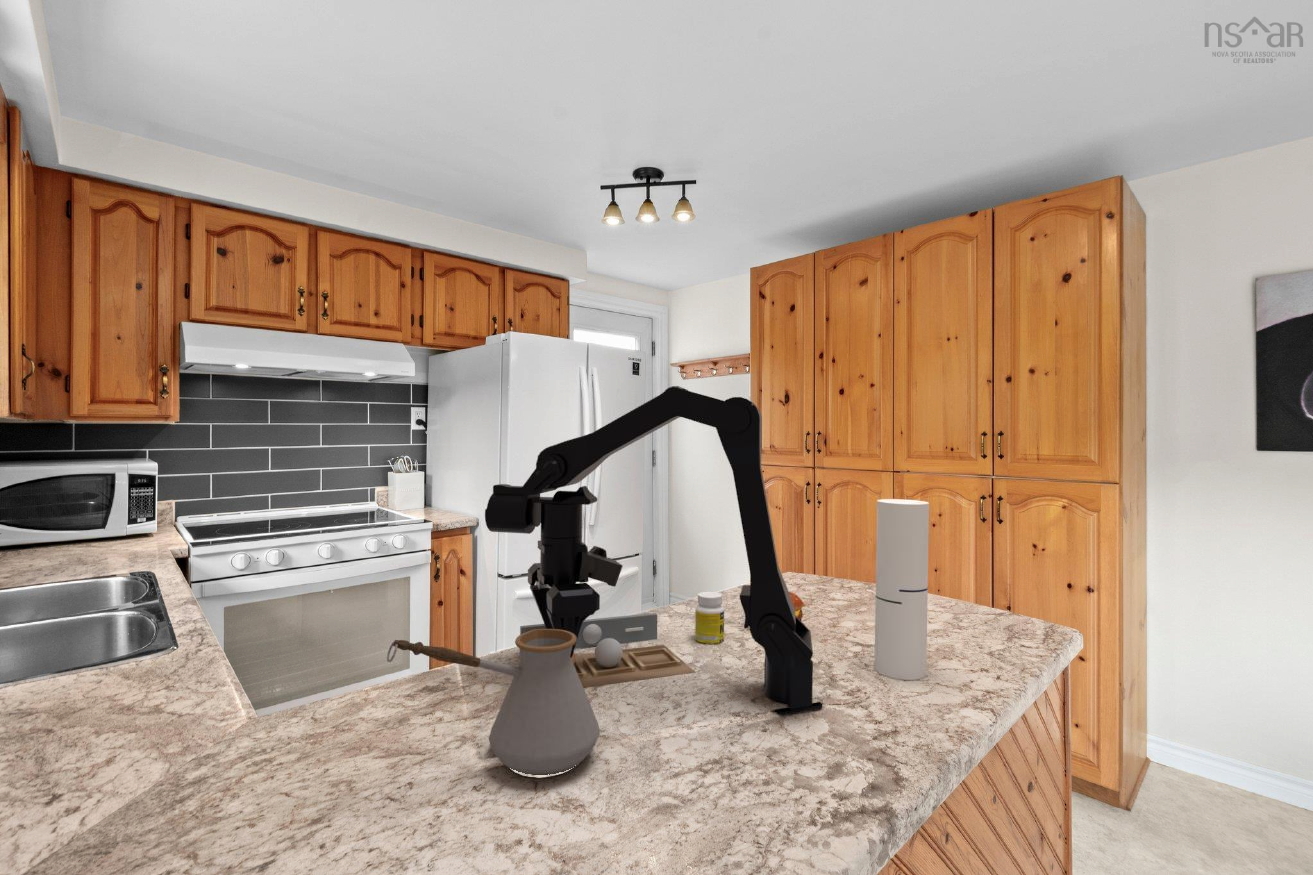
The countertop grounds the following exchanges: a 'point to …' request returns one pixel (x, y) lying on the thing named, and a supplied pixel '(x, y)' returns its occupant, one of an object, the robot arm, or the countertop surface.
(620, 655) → the grey ball
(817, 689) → the countertop surface
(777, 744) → the countertop surface
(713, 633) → the supplement bottle
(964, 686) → the countertop surface
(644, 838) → the countertop surface
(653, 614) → the card
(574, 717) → the coffee pot
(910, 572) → the cylindrical container
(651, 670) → the rack
